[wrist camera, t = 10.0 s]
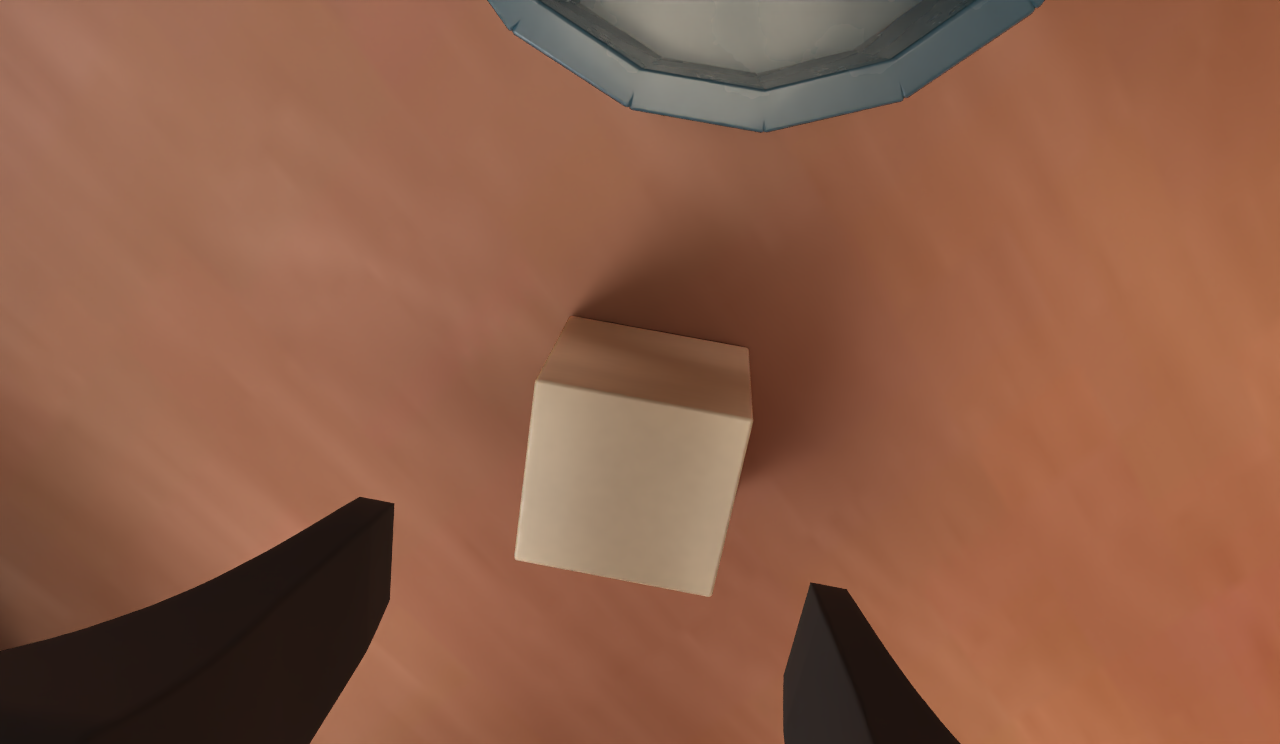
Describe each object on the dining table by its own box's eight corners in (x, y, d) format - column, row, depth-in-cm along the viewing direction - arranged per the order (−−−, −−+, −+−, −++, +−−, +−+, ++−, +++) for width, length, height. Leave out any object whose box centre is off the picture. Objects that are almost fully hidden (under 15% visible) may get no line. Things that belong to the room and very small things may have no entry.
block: (548, 470, 23) (513, 561, 19) (569, 314, 21) (534, 379, 17) (714, 501, 23) (711, 599, 19) (749, 346, 21) (753, 419, 17)
